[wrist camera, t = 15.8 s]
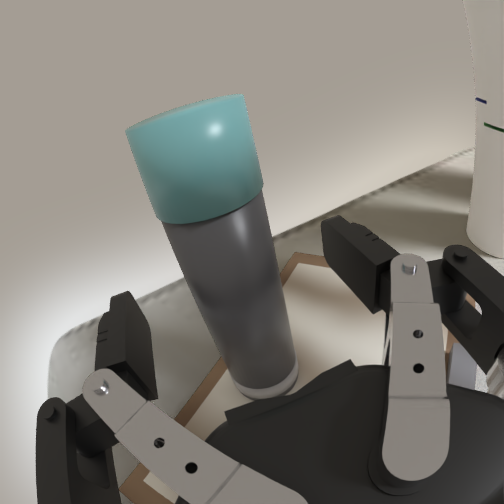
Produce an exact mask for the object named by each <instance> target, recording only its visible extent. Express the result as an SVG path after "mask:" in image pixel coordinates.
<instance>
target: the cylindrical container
mask: <svg viewBox="0 0 504 504" xmlns="http://www.w3.org/2000/svg"><path fill="white" fill-rule="evenodd" d="M462 1H463V5H464V10H465V15H466V20H467V25H468V31H469V37H470V44H471V52H472V60H473V69H474V82H475V96H476V97H478V98H476V99H475V102H476V142H475V160H474V173H473V184H472V193H471V201H470V209H469V216H468V222H467V228H466V232H467V235H468V237H469V239H470V240H471V242H472V243H473V244H474V245H475V246H476V247H478V248H479V249H480V250H482V251H484V252H485V253H487V254H489V255H492V256H494V257H498V258H502V259H504V0H462Z"/></svg>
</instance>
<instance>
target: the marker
mask: <svg viewBox="0 0 504 504" xmlns="http://www.w3.org/2000/svg"><path fill="white" fill-rule="evenodd" d="M125 132H126V135H127V138H128V141H129V144H130V147H131V150H132V153H133V155H134V158H135V161H136V164H137V167H138V170H139V172H140V175H141V178H142V181H143V183H144V186H145V188H146V191H147V194H148V196H149V199H150V202H151V204H152V207H153V209H154V212H155V214H156V217H157V218H158V219H159V220H161V222H162V224H163V227H164V229H165V232H166V234H167V236H168V239H169V241H170V244H171V246H172V249H173V251H174V253H175V256H176V258H177V260H178V263H179V265H180V267H181V270H182V272H183V274H184V277H185V279H186V281H187V284H188V286H189V288H190V290H191V293H192V295H193V297H194V299H195V301H196V304H197V306H198V308H199V310H200V312H201V314H202V317H203V319H204V321H205V323H206V325H207V327H208V329H209V331H210V334H211V336H212V338H213V340H214V342H215V344H216V346H217V348H218V350H219V352H220V354H221V356H222V358H223V360H224V362H225V364H226V366H227V368H228V371H229V374H230V376H231V378H232V380H233V382H234V384H235V386H236V387H237V388H238V390H239V391H240V392H241V393H242V394H243V395H244V396H245V397H247V398H249V399H251V400H254V401H255V400H260V399H267V398H273V397H279V396H285V395H286V394H287V393H288V392H290V391H291V389H292V388H293V387H294V385H295V384H296V382H297V379H298V361H297V356H296V351H295V348H294V345H293V339H292V334H291V329H290V324H289V319H288V314H287V309H286V303H285V298H284V293H283V288H282V283H281V278H280V274H279V269H278V264H277V259H276V254H275V249H274V245H273V240H272V235H271V231H270V226H269V221H268V216H267V212H266V207H265V203H264V198H263V193H262V187H263V179H262V175H261V170H260V166H259V161H258V157H257V152H256V148H255V143H254V139H253V134H252V130H251V126H250V121H249V117H248V112H247V108H246V104H245V100H244V95H243V94H234V95H227V96H222V97H217V98H212V99H207V100H203V101H199V102H195V103H192V104H188V105H185V106H182V107H178V108H175V109H172V110H169V111H166V112H164V113H161V114H158V115H156V116H153V117H151V118H148V119H146V120H144V121H141V122H139V123H137V124H135V125H133V126H131V127H129V128H128V129H127V130H126V131H125Z"/></svg>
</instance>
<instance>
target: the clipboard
mask: <svg viewBox="0 0 504 504" xmlns="http://www.w3.org/2000/svg"><path fill="white" fill-rule="evenodd" d="M280 278H281V283H282V288H283V293H284V298H285V303H286V309H287V314H288V319H289V324H290V329H291V334H292V339H293V345H294V348H295V351H296V356H297V361H298V379H297V382H296V384H295V385H294V387H293V388H292V389H291V391H290V392H288V393H287V394H286V395H290V394H293V393H295V392H297V391H298V390H299V389H301V388H302V387H303V386H305V385H306V384H307V383H309V382H310V381H311V380H313V379H314V378H315V377H317V376H318V375H319V374H321V373H322V372H324V371H326V370H329V369H331V368H333V367H335V366H337V365H339V364H341V363H343V362H345V361H347V360H349V359H351V360H352V362H353V363H354V365H355V366H361V365H373V364H375V365H381V364H382V357H383V344H384V327H385V314H386V313H385V312H384V311H383V310H381V311H379V312H377V313H375V314H372V313H371V312H370V311H369V310H368V308H367V307H366V306H365V305H364V304H363V303H362V302H361V301H360V299H359V298H358V297H357V296H356V295H355V294H354V293H353V292H352V291H351V289H350V288H349V287H348V286H347V285H346V284H345V283H344V282H343V281H342V280H341V279H340V277H339V276H338V275H337V274H336V273H335V272H334V271H333V270H332V269H331V268H330V267H329V265H328V264H327V262H326V260H325V257H324V256H317V255H310V254H304V253H297V252H295V253H294V254H293V256H292V257H291V259H290V260H289V261H288V263H287V264H286V266H285V267H284V269H283V270H282V272H281V273H280ZM466 300H467V301H468V302H469V303H470V304H471V305H472V306H473V307H474V308H475V300H474V299H473V298H472V297H471V296H470V295H469V294H468V293H467V296H466ZM442 330H443V341H444V353H445V370H446V383H449V384H453V385H457V386H461V387H465V388H469V389H473V390H475V381H476V369H477V363H476V362H475V361H474V359H473V358H472V357H471V356H470V355H469V353H468V352H467V351H466V350H465V349H464V347H463V346H462V345H461V344H460V343H459V342H458V340H457V339H456V338H455V337H454V336H453V335H452V333H451V332H450V331H449V330H448V329H447V328H446V327H445V326H444V324H443V323H442ZM252 401H254V400H251V399H249V398H247V397H245V396H244V395H243V394H242V393H241V392H240V391H239V390H238V388H237V387H236V386H235V384H234V382H233V380H232V378H231V376H230V374H229V371H228V368H227V366H226V364H225V362H224V360H223V358H222V356H221V358H220V359H219V360H218V362H217V363H216V364H215V366H214V367H213V368H212V370H211V371H210V373H209V374H208V375H207V377H206V378H205V379H204V381H203V382H202V383H201V385H200V386H199V387H198V389H197V390H196V391H195V393H194V394H193V395H192V397H191V398H190V399H189V400H188V402H187V403H186V404H185V406H184V407H183V408H182V410H181V411H180V412H179V414H178V415H177V416H176V417H175V419H174V420H175V421H176V422H177V423H179V424H180V425H182V426H183V427H184V428H186V429H187V430H189V431H190V432H191V433H193V434H194V435H196V436H197V437H199V438H200V439H202V440H203V441H205V440H206V438H207V437H208V436H209V435H210V433H211V432H213V431H214V430H215V429H216V428H217V427H218V426H219V425H221V424H222V423H224V422H225V421H227V419H226V416H225V413H224V411H227V410H230V409H233V408H236V407H239V406H241V405H244V404H247V403H250V402H252ZM119 491H120V492H122V493H123V494H124V495H125V496H126V497H127V498H128V499H130V500H131V501H132V502H133V503H134V504H175V502H176V500H177V498H178V496H179V495H178V494H177V493H176V492H174V491H173V490H172V489H171V488H169V487H168V486H167V485H166V484H165V483H163V482H162V481H161V480H160V479H159V478H158V477H156V476H155V475H154V474H153V473H152V472H151V471H150V470H149V469H147V468H146V467H145V466H144V465H143V464H142V463H141V462H140V463H139V464H138V466H137V467H136V468H135V469H134V471H133V472H132V473H131V474H130V476H129V477H128V478H127V479H126V480H125V482H124V483H123V484H122V485H121V486H120V488H119Z"/></svg>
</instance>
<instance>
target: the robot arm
mask: <svg viewBox="0 0 504 504" xmlns="http://www.w3.org/2000/svg"><path fill="white" fill-rule="evenodd" d="M321 232H322V242H323V252H324V257H325V260H326V262H327V264H328V265H329V267H330V268H331V269H332V270H333V271H334V272H335V273H336V274H337V275H338V276H339V277H340V279H341V280H342V281H343V282H344V283H345V284H346V285H347V286H348V287H349V288H350V289H351V291H352V292H353V293H354V294H355V295H356V296H357V297H358V298H359V299H360V301H361V302H362V303H363V304H364V305H365V306H366V307H367V308H368V310H369V311H370V312H371V313H372V314H375V313H377V312H379V311H381V310H383V311H384V312H385V313H386V314H385V327H384V344H383V357H382V364H381V365H375V364H373V365H361V366H355V365H354V363H353V362H352V360H351V359H349V360H347V361H345V362H343V363H341V364H339V365H337V366H335V367H333V368H331V369H329V370H326V371H324V372H322V373H321V374H319V375H318V376H317V377H315V378H314V379H313V380H311V381H310V382H309V383H307V384H306V385H305V386H303V387H302V388H301V389H299V390H298V391H297V392H295V393H293V394H290V395H285V396H279V397H273V398H267V399H260V400H255V401H252V402H250V403H247V404H244V405H241V406H239V407H236V408H233V409H230V410H227V411H224V413H225V416H226V419H227V421H225V422H224V423H222V424H221V425H219V426H218V427H217V428H216V429H215V430H214V431H213V432H211V433H210V435H209V436H208V437H207V438H206V440H205V441H203V440H202V439H200V438H199V437H197V436H196V435H194V434H193V433H191V432H190V431H189V430H187V429H186V428H184V427H183V426H182V425H180V424H179V423H177V422H176V421H175V420H173V419H172V418H171V417H169V416H168V415H167V414H165V413H164V412H163V411H162V410H160V409H159V408H158V407H156V406H155V405H154V404H153V403H151V402H150V401H151V400H155V399H158V394H157V387H156V379H155V370H154V361H153V351H152V340H151V331H150V327H149V324H148V322H147V320H146V318H145V316H144V314H143V313H142V311H141V309H140V308H139V306H138V304H137V303H136V301H135V299H134V297H133V296H132V294H131V293H130V292H129V291H126V292H124V293H121V294H118V295H116V296H113V297H111V300H110V310H109V312H106V313H104V314H103V316H102V318H101V320H100V322H99V326H98V335H97V346H96V358H95V372H93V373H92V374H91V375H90V376H89V377H88V378H87V379H86V381H85V383H84V385H83V391H82V392H83V393H82V394H81V395H80V396H78V397H76V398H75V399H73V400H71V401H70V402H68V403H65V402H64V401H63V400H61V399H60V398H57V397H53V398H50V399H48V400H47V401H45V402H44V403H43V404H42V406H41V407H40V409H39V411H38V415H37V428H36V485H37V499H38V504H121V499H120V494H119V489H118V484H117V479H116V473H115V467H114V461H113V454H112V446H114V445H115V444H117V443H119V442H121V444H122V445H123V446H124V447H125V448H126V449H127V450H128V451H129V452H130V453H132V454H133V455H134V456H135V457H136V458H137V459H138V460H139V461H140V462H141V463H142V464H143V465H144V466H145V467H146V468H147V469H149V470H150V471H151V472H152V473H153V474H154V475H155V476H156V477H158V478H159V479H160V480H161V481H162V482H163V483H165V484H166V485H167V486H168V487H169V488H171V489H172V490H173V491H174V492H176V493H177V494H178V495H179V496H178V498H177V500H176V502H175V504H504V276H502V275H501V274H500V273H499V272H498V271H497V270H495V269H494V268H493V267H492V266H491V265H489V264H488V263H487V262H486V261H485V260H483V259H482V258H481V257H480V256H478V255H477V254H476V253H475V252H473V251H472V250H471V249H469V248H467V247H465V246H462V245H451V246H448V247H446V248H445V250H444V252H443V258H442V259H439V260H434V261H428V262H426V261H425V260H424V259H423V258H421V257H420V256H417V255H414V254H400V253H398V252H397V251H396V250H395V249H393V248H392V247H391V246H389V245H388V244H387V243H386V242H384V241H383V240H382V239H379V237H378V236H377V235H375V234H373V233H372V232H371V231H370V230H369V229H367V228H366V227H365V226H362V225H359V224H356V223H351V224H350V223H349V222H348V221H346V220H345V219H344V218H342V217H341V216H339V215H338V216H335V217H332V218H329V219H326V220H324V221H322V222H321ZM467 293H468V294H469V295H470V296H471V297H472V298H473V299H474V300H475V301H476V302H477V303H478V304H479V305H480V307H481V310H482V315H481V314H480V313H479V312H478V311H477V310H476V309H475V308H474V307H473V306H472V305H471V304H470V303H469V302H468V301H467V300H466V296H467ZM442 323H443V324H444V326H445V327H446V328H447V329H448V330H449V331H450V332H451V333H452V335H453V336H454V337H455V338H456V339H457V340H458V342H459V343H460V344H461V345H462V346H463V347H464V349H465V350H466V351H467V352H468V353H469V355H470V356H471V357H472V358H473V359H474V361H475V362H476V363H477V364H478V365H479V367H480V368H481V369H482V370H483V372H484V373H485V374H486V375H487V377H486V382H487V386H488V391H487V393H485V392H481V391H477V390H473V389H469V388H465V387H461V386H457V385H453V384H449V383H446V370H445V353H444V341H443V330H442Z"/></svg>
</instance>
